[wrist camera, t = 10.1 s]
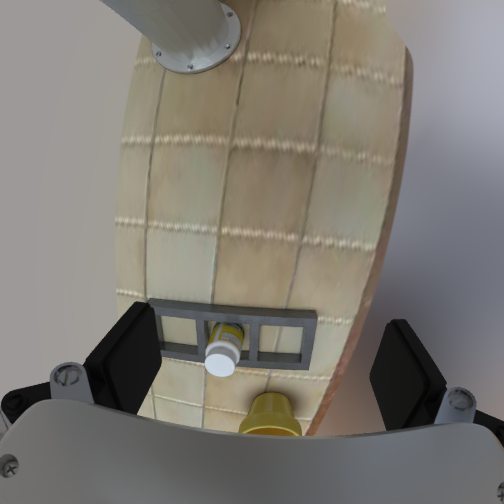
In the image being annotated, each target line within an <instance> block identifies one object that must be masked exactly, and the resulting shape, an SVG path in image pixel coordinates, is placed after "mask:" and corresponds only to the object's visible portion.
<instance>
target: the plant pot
mask: <svg viewBox="0 0 504 504" xmlns="http://www.w3.org/2000/svg"><path fill="white" fill-rule="evenodd" d="M238 433H245V434H257V435H274V436H302V430H301V426H300V423H299V422H298V421H297V420H296V419H295V417H294V414H293V411H292V408H291V405H290V402H289V400H288V398H287V397H286V396H284V395H282V394H279V393H274V392H269V393H264V394H261V395H259V396H258V397H256V398H255V400H254V401H253V404H252V406H251V408H250V411H249V413H248V415H247V417H246V418H245V419H244V420H243V421H242V422H241V424H240V427H239V432H238Z"/></svg>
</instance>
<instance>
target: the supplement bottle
mask: <svg viewBox="0 0 504 504" xmlns="http://www.w3.org/2000/svg"><path fill="white" fill-rule="evenodd" d="M243 339H244V330H243V328H242V326H241V325H240V324H239V323H228V322H218V323H217V324H216V325H215V326H214V329H213V332H212V334H211V337H210V340H209V342H208V345H207V348H206V359H205V367H206V369H207V370H208V371H209V372H210V373H211V374H213V375H215V376H219V377H225V376H229V375H231V374H232V373H233V372H234V370H235V366H236V364H237V363H238V361H239V359H240V355H241V350H242V344H243Z"/></svg>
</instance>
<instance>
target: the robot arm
mask: <svg viewBox="0 0 504 504" xmlns="http://www.w3.org/2000/svg"><path fill="white" fill-rule="evenodd" d="M100 1H102V2H103V3H104V4H106V5H107V6H109V7H110V8H111V9H112V10H114V11H115V12H116V13H118V14H119V15H120V16H121V17H123V18H124V19H125V20H126V21H128V22H129V23H130V24H132V25H133V26H134V27H135V28H136V29H138V30H139V31H140V32H141V33H142V34H143V35H145V36H146V37H147V38H148V39H149V40H150V41H151V48H152V53H153V55H154V57H155V59H156V60H157V61H158V62H159V64H161V65H162V66H163V67H164V68H166V69H168V70H170V71H173V72H176V73H182V74H194V73H199V72H203V71H206V70H209V69H212V68H213V67H215V66H217V65H219V64H220V63H222V62H223V61H224V60H226V59H227V58H228V57H229V56H230V55H231V54H232V53H233V51H234V50H235V48H236V47H237V45H238V43H239V40H240V37H241V24H240V21H239V18H238V16H237V14H236V13H235V12H234V11H233V10H232V9H231V8H230V7H229V6H227V5H225V4H223V3H221V2H219V0H100ZM230 16H231V17H230ZM228 47H230V48H229V49H227V48H228ZM160 55H161V56H160ZM192 67H193V69H191V68H192ZM161 364H162V357H161V351H160V345H159V339H158V332H157V325H156V318H155V310H154V308H153V307H151V306H150V304H149V303H144V302H137V301H136V302H134V303H133V305H132V306H131V307H130V308H129V309H128V310H127V311H126V313H125V314H124V315H123V316H122V317H121V318H120V319H119V321H118V322H117V323H116V324H115V325H114V326H113V327H112V329H111V330H110V331H109V332H108V333H107V335H106V336H105V337H104V338H103V339H102V340H101V342H100V343H99V344H98V345H97V346H96V348H95V349H94V350H93V351H92V352H91V354H90V355H89V356H88V357H87V358H86V361H85V363H84V364H83V365H81V364H78V363H75V362H66V363H63V364H60V365H58V366H57V367H55V368H54V369H53V371H52V372H51V374H50V382H46V383H42V384H38V385H33V386H29V387H25V388H21V389H16V390H13V391H10V392H9V393H7V394H6V395H5V396H4V397H3V399H2V401H1V406H0V504H504V421H502V420H499V419H497V418H495V417H492V416H490V415H488V414H485V413H483V412H481V411H478V410H476V399H475V397H474V396H473V394H472V393H471V392H470V391H468V390H466V389H464V388H461V387H452V388H449V389H447V388H446V386H445V385H446V384H447V382H446V380H445V379H444V377H443V376H442V374H441V372H440V371H439V369H438V368H437V366H436V364H435V363H434V361H433V360H432V358H431V356H430V355H429V353H428V352H427V350H426V349H425V347H424V346H423V344H422V343H421V341H420V340H419V338H418V337H417V336H416V334H415V332H414V331H413V329H412V328H411V327H410V325H409V324H408V322H407V321H406V320H405V319H393V320H391V322H390V323H387V325H386V327H385V331H384V334H383V337H382V340H381V343H380V346H379V349H378V352H377V355H376V358H375V361H374V364H373V366H372V369H371V372H370V382H371V385H372V388H373V391H374V394H375V397H376V400H377V403H378V405H379V409H380V412H381V415H382V418H383V421H384V424H385V428H386V431H382V432H374V433H364V434H352V435H335V436H274V435H257V434H245V433H235V432H226V431H218V430H210V429H203V428H197V427H191V426H185V425H180V424H175V423H170V422H165V421H160V420H156V419H151V418H147V417H143V416H139V415H137V413H138V411H139V409H140V407H141V405H142V403H143V401H144V399H145V397H146V395H147V393H148V391H149V389H150V387H151V385H152V383H153V381H154V379H155V377H156V375H157V373H158V371H159V369H160V367H161Z"/></svg>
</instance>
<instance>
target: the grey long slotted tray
mask: <svg viewBox="0 0 504 504" xmlns="http://www.w3.org/2000/svg"><path fill="white" fill-rule="evenodd" d="M146 303H149V304H150V306H151V307H153V308H154V310H155V318H156V325H157V332H158V339H159V345H160V351H161V357H167V358H173V359H179V360H186V361H193V362H201V363H205V359H206V348H207V345H208V342H209V332H208V321H216V322H228V323H240V324H250V347H249V351H241V355H240V359H239V361H238V363H237V364H236V366H238V367H250V368H265V369H284V370H309V366H310V360H311V355H312V349H313V343H314V337H315V331H316V325H317V315H316V311H314V310H290V309H270V308H254V307H239V306H226V305H213V304H202V303H191V302H181V301H172V300H162V299H154V298H150V299H149V300H148V301H147V302H146ZM160 315H162V316H170V317H178V318H187V319H196V331H197V343H198V346H192V345H185V344H177V343H170V342H164V338H163V331H162V324H161V317H160ZM259 325H270V326H291V327H304V329H303V337H302V344H301V350H300V354H289V353H269V352H258V345H259Z"/></svg>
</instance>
